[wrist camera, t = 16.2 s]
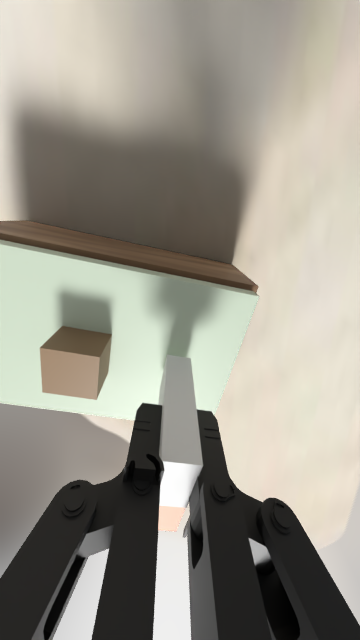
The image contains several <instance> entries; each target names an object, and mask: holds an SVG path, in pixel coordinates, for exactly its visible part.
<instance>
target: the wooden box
mask: <svg viewBox="0 0 360 640" xmlns="http://www.w3.org/2000/svg"><path fill="white" fill-rule="evenodd" d="M0 240H5V241H10V242H14V243H19V244H24V245H29V246H34V247H39V248H44V249H49V250H54V251H59V252H64V253H68V254H73V255H78V256H83V257H88V258H93V259H98V260H103V261H108V262H113V263H117V264H122V265H127V266H132V267H137V268H142V269H147V270H152V271H157V272H162V273H166V274H171V275H176V276H181V277H186V278H191V279H196V280H201V281H206V282H211V283H215V284H220V285H225V286H230V287H235V288H240V289H245V290H250V291H254V292H255V293H256V292H257V289H258V286H257V285H256V284H255V283H254V282H253V281H251V280H250V279H249V278H248V277H247V276H245V275H244V274H243V273H242V272H241V271H239V270H238V269H237V268H236V267H235V266H233V265H231V264H227V263H222V262H217V261H213V260H208V259H204V258H199V257H194V256H190V255H185V254H180V253H176V252H171V251H166V250H162V249H157V248H152V247H148V246H143V245H138V244H134V243H129V242H124V241H120V240H115V239H111V238H106V237H101V236H97V235H92V234H87V233H83V232H78V231H73V230H69V229H64V228H59V227H55V226H50V225H45V224H41V223H36V222H31V221H0Z"/></svg>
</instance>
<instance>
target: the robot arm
mask: <svg viewBox="0 0 360 640" xmlns="http://www.w3.org/2000/svg"><path fill="white" fill-rule="evenodd" d="M188 503H189V506H190V516H189V519H188V521H187V524H186V526H185V529H184V533H183V537H186V536H187V537H188V560H189V589H190V615H191V640H360V625H359V624H358V622H357V620H356V619H355V617H354V615H353V613H352V612H351V610H350V608H349V607H348V605H347V603H346V601H345V600H344V598H343V596H342V594H341V593H340V591H339V589H338V587H337V586H336V584H335V582H334V581H333V579H332V577H331V576H330V574H329V572H328V570H327V569H326V567H325V565H324V563H323V562H322V560H321V558H320V557H319V555H318V553H317V551H316V550H315V548H314V546H313V544H312V543H311V541H310V539H309V537H308V536H307V534H306V532H305V531H304V529H303V527H302V525H301V524H300V522H299V520H298V519H297V517H296V515H295V514H294V513H293V511H292V510H291V508H290V507H289V506H287V505H286V504H285V503H284V502H283V501H281V500H279V499H276V498H268V499H266V500H264V502H261V501H259V500H256V499H254V498H252V497H250V496H248V495H246V494H245V493H243V492H241V491H240V490H239V489H238V488H237V487H236V486H235V484H234V483H233V481H232V480H231V479H230V477H229V474H228V470H227V465H226V461H225V456H224V451H223V446H222V442H221V437H220V432H219V427H218V422H217V419H216V418H215V416H214V415H213V413H212V411H205V410H198V409H197V408H196V400H195V391H194V382H193V373H192V365H191V358H186V357H179V356H173V355H167V357H166V361H165V366H164V371H163V375H162V380H161V385H160V390H159V402H158V405H157V404H149V403H142V404H141V405H140V407H139V408H138V409H137V411H136V416H135V422H134V427H133V432H132V437H131V442H130V447H129V452H128V457H127V462H126V465H125V467H124V469H123V470H122V472H121V473H120V474H119V475H118V476H117V477H115V478H114V479H112V480H110V481H107V482H104V483H100V484H96V485H92V484H91V483H89V482H88V481H84V480H77V481H73V482H70V483H69V484H67V485H65V486H64V487H62V489H61V490H60V491H59V492H58V493H57V494H56V495H55V497H54V498H53V500H52V501H51V503H50V504H49V506H48V507H47V509H46V510H45V512H44V513H43V515H42V516H41V518H40V519H39V521H38V522H37V524H36V525H35V527H34V529H33V530H32V531H31V533H30V534H29V536H28V537H27V539H26V541H25V542H24V543H23V545H22V546H21V548H20V549H19V551H18V553H17V554H16V556H15V557H14V559H13V560H12V562H11V563H10V565H9V566H8V568H7V569H6V571H5V572H4V574H3V575H2V577H1V578H0V640H52V639H53V636H54V634H55V632H56V630H57V627H58V625H59V623H60V620H61V618H62V616H63V613H64V611H65V609H66V607H67V604H68V602H69V600H70V598H71V595H72V593H73V591H74V589H75V586H76V584H77V582H78V579H79V577H80V575H81V573H82V570H83V568H84V566H85V563H86V561H87V559H88V557H89V556H90V555H93V554H96V553H98V552H101V551H103V550H106V549H108V548H109V553H108V558H107V564H106V569H105V573H104V579H103V584H102V589H101V595H100V599H99V604H98V609H97V615H96V620H95V625H94V630H93V635H92V640H153V622H154V602H155V581H156V563H157V562H156V561H157V542H158V523H159V506H170V507H181V508H186V507H187V505H188Z"/></svg>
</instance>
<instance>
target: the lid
mask: <svg viewBox="0 0 360 640" xmlns="http://www.w3.org/2000/svg"><path fill="white" fill-rule="evenodd" d="M258 299H259V296H258V295H257V294H256V293H255V292H254V291H250V290H245V289H240V288H235V287H230V286H225V285H220V284H215V283H211V282H206V281H201V280H196V279H191V278H186V277H181V276H176V275H171V274H166V273H162V272H157V271H152V270H147V269H142V268H137V267H132V266H127V265H122V264H117V263H113V262H108V261H103V260H98V259H93V258H88V257H83V256H78V255H73V254H68V253H64V252H59V251H54V250H49V249H44V248H39V247H34V246H29V245H24V244H19V243H14V242H10V241H5V240H0V403H5V404H13V405H20V406H27V407H35V408H43V409H50V410H58V411H66V412H73V413H80V414H88V415H96V416H103V417H111V418H118V419H126V420H134V421H135V416H136V411H137V409H138V408H139V407H140V405H141V404H142V403H149V404H157V405H158V402H159V390H160V385H161V380H162V375H163V371H164V366H165V361H166V357H167V355H173V356H179V357H186V358H191V365H192V373H193V382H194V391H195V400H196V408H197V409H198V410H205V411H212V413H213V415H214V416H215V413H216V410H217V408H218V405H219V402H220V400H221V397H222V394H223V392H224V389H225V386H226V384H227V381H228V378H229V376H230V373H231V370H232V368H233V365H234V363H235V360H236V357H237V355H238V352H239V349H240V347H241V344H242V341H243V339H244V336H245V333H246V331H247V328H248V325H249V323H250V320H251V317H252V315H253V312H254V310H255V307H256V304H257V302H258Z"/></svg>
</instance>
